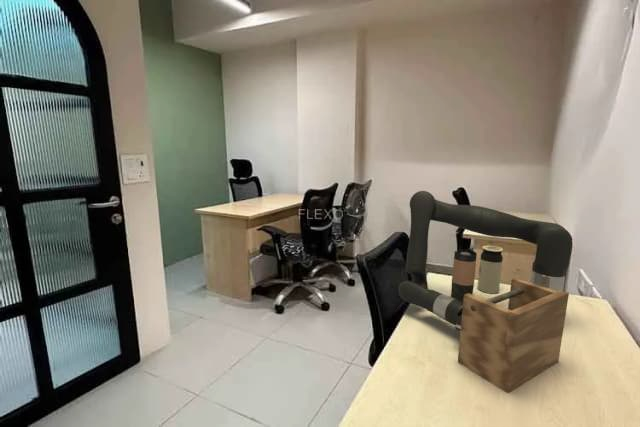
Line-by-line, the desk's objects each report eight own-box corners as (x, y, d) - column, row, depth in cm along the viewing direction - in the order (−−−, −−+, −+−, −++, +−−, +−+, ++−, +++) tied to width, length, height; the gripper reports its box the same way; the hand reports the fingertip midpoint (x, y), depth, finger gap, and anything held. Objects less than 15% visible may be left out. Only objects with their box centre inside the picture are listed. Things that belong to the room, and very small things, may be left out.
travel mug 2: (501, 289, 142) (505, 247, 139) (495, 295, 136) (500, 252, 133) (480, 284, 147) (485, 244, 144) (474, 290, 141) (479, 248, 138)
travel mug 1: (474, 309, 124) (479, 256, 121) (451, 306, 126) (456, 254, 122) (469, 300, 132) (474, 249, 128) (448, 298, 133) (452, 248, 130)
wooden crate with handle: (457, 362, 93) (464, 292, 89) (508, 337, 105) (515, 276, 102) (508, 393, 81) (518, 315, 78) (558, 361, 94) (568, 293, 90)
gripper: (437, 304, 103) (489, 329, 89) (467, 294, 111) (520, 316, 97) (435, 327, 105) (486, 355, 91) (465, 315, 112) (516, 340, 98)
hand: (503, 335), depth 94 cm, fingers closed on supplement bottle, 6 cm apart
